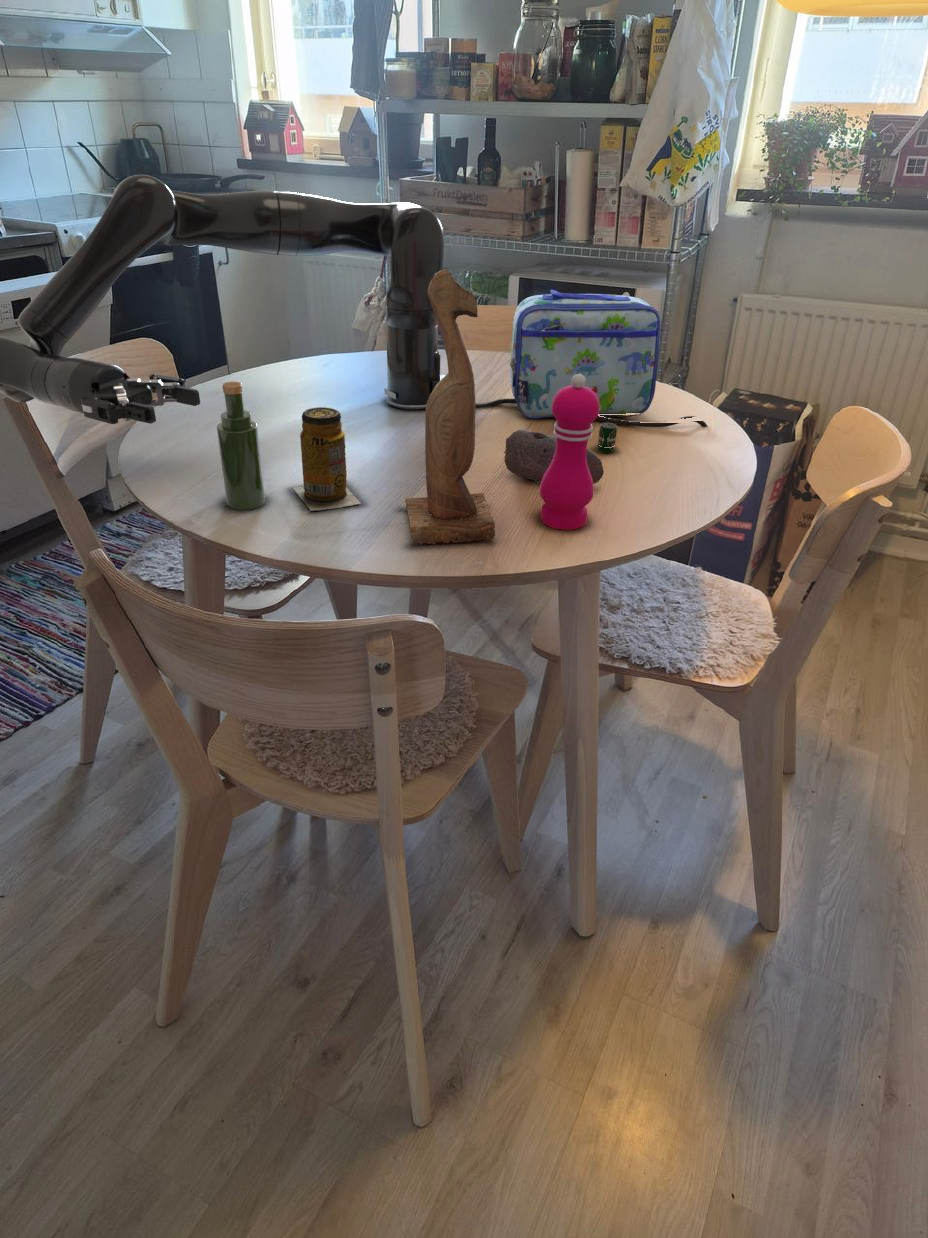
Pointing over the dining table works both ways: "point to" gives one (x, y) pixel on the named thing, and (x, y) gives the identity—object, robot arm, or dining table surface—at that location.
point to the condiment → (324, 461)
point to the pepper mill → (570, 458)
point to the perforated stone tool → (539, 455)
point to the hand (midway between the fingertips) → (176, 406)
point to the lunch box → (584, 351)
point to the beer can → (607, 437)
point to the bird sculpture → (450, 433)
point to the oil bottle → (240, 452)
